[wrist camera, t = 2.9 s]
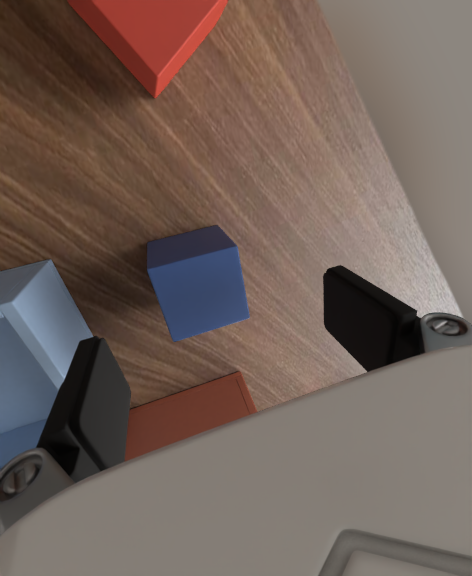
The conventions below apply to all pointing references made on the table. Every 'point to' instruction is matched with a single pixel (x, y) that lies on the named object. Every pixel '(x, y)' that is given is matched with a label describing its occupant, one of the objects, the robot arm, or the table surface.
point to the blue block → (197, 281)
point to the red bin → (187, 414)
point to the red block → (151, 33)
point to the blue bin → (33, 351)
